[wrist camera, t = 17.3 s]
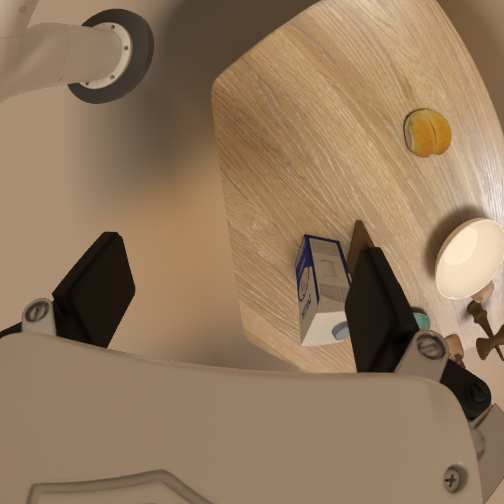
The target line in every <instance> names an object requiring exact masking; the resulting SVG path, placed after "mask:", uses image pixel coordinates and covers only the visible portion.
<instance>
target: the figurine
mask: <svg viewBox="0 0 504 504" xmlns="http://www.w3.org/2000/svg"><path fill="white" fill-rule="evenodd" d="M445 340H446V342H447V344H448V346H449V357H448V358H449V359H451V360H452V361H454V362H455V363H457V364H458V365H460V366H462V367H463V368H466V367H465V366H464V363H463V361H462V358H463V356H464V351H463V347H462V344H461V341H460V339H459V337H458V336H457V335H450V336H448V337H446V338H445Z"/></svg>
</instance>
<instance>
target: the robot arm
mask: <svg viewBox="0 0 504 504" xmlns="http://www.w3.org/2000/svg"><path fill="white" fill-rule="evenodd" d="M38 1H39V0H0V103H1V102H3V101H5V100H6V99H8V98H11V97H13V96H16V95H18V94H21V93H25V92H29V91H32V90H37V89H42V88H47V87H53V86H58V85H64V84H71V83H78V82H79V83H80V84H81V85H83V86H84V87H87V88H90V89H98V88H103V87H106V86H109V85H111V84H112V83H114V82H115V81H117V80H118V79H119V78H120V77H121V76H122V74H123V73H124V72H125V70H126V69H127V67H128V65H129V63H130V60H131V57H132V53H133V43H132V38H131V36H130V34H129V32H128V31H127V29H125V28H124V27H123V26H121V25H119V24H116V23H110V22H107V23H101V24H98V25H96V26H94V27H85V26H78V25H69V24H60V23H40V24H37V25H34V26H31V27H29V28H27V26H28V24H29V21H30V19H31V16H32V14H33V12H34V10H35V7H36V5H37V3H38ZM128 47H129V48H128ZM52 295H53V298H54V301H53V302H51V301H50V300H49V299H47V298H40V299H36V300H34V301H32V302H31V303H30V304H28V305H27V307H26V308H25V309H24V311H23V313H22V322H20V323H18V324H16V325H14V326H12V327H9V328H7V329H5V330H3V331H1V332H0V504H485V503H486V502H487V500H488V499H489V498H490V496H491V495H492V494H493V493H494V491H495V490H496V488H497V487H498V486H499V484H500V483H501V481H502V480H503V479H504V412H503V411H502V410H501V409H500V408H499V406H497V404H496V403H495V404H494V405H492V404H491V392H490V389H489V387H488V386H487V384H486V383H485V382H484V381H483V380H481V379H480V378H478V377H477V376H475V375H474V374H472V373H470V372H469V371H468V370H466V369H465V368H463V367H462V366H460V365H458V364H457V363H455V362H454V361H452V360H451V359H449V358H448V357H449V346H448V344H447V342H446V340H445V339H444V338H443V337H442V336H441V335H440V334H438V333H437V332H434V331H432V330H420V328H419V326H418V323H417V321H416V319H415V316H414V314H413V312H412V309H411V307H410V305H409V303H408V301H407V298H406V296H405V294H404V292H403V290H402V288H401V286H400V284H399V283H398V281H397V279H396V277H395V275H394V273H393V271H392V269H391V267H390V265H389V263H388V261H387V259H386V257H385V255H384V253H383V251H382V250H381V248H380V247H368V246H366V247H365V248H364V250H360V252H359V255H358V259H357V263H356V266H355V270H354V274H353V277H352V281H351V284H350V287H349V291H348V294H347V297H346V301H345V305H344V310H345V315H346V319H347V324H348V328H349V333H350V338H351V343H352V348H353V353H354V358H355V363H356V368H357V373H302V372H275V371H258V370H246V369H234V368H224V367H214V366H205V365H198V364H190V363H182V362H176V361H170V360H163V359H158V358H152V357H146V356H140V355H136V354H131V353H125V352H121V351H116V350H112V349H107V347H108V345H109V343H110V341H111V339H112V337H113V335H114V333H115V331H116V329H117V327H118V325H119V323H120V321H121V319H122V317H123V316H124V314H125V312H126V310H127V308H128V306H129V304H130V302H131V300H132V299H133V297H134V295H135V285H134V281H133V277H132V274H131V270H130V266H129V262H128V258H127V255H126V250H125V246H124V243H123V239H122V237H121V236H119V234H118V233H117V232H104V233H102V234H101V236H100V237H99V238H98V239H97V240H96V241H95V242H94V243H93V244H92V246H91V247H90V248H89V249H88V250H87V251H86V252H85V254H84V255H83V256H82V257H81V258H80V259H79V261H78V262H77V263H76V264H75V265H74V266H73V268H72V269H71V270H70V271H69V273H68V274H67V275H66V276H65V277H64V279H63V280H62V281H61V282H60V284H59V285H58V286H57V288H56V289H55V290H54V291H53V293H52Z"/></svg>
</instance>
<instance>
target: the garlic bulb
mask: <svg viewBox="0 0 504 504" xmlns="http://www.w3.org/2000/svg"><path fill="white" fill-rule="evenodd" d="M493 289H494V285H493V282H492V280H491V281H490V282H489V283H488V284H487V285H486V286H485V287H484V288H482V289H481V290H480V291H479V292H477V293H475V294H474V295H472V296H471V297H472V299H473V300H474V301H475V302H477V303H481V304H482V305H483V303H484V301H485V300H486V299H488V298H489V297H490V296H491V294H492V292H493Z"/></svg>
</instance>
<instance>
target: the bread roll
mask: <svg viewBox="0 0 504 504" xmlns="http://www.w3.org/2000/svg"><path fill="white" fill-rule="evenodd" d="M404 127H405V137H406V141H407V145H408V148H409V149H410V150H411V151H412V152H413V153H414V154H415V155H417V156H419V157H428V156H430V155H431V154H435V155H440V154H443V153H444V152H445V151H446V150H447V149H448V148H449V146H450V142H451V136H452V133H451V128H450V125H449V123H448V122H447V120H446V119H445V118H444V117H443V116H442V115H441V114H440V113H438V112H436V111H434V110H431V109H423V110H418V111H415V112H413V113H412V114H411V115H410V116H409V117H408V118H407V120H406V123H405V126H404Z"/></svg>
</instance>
